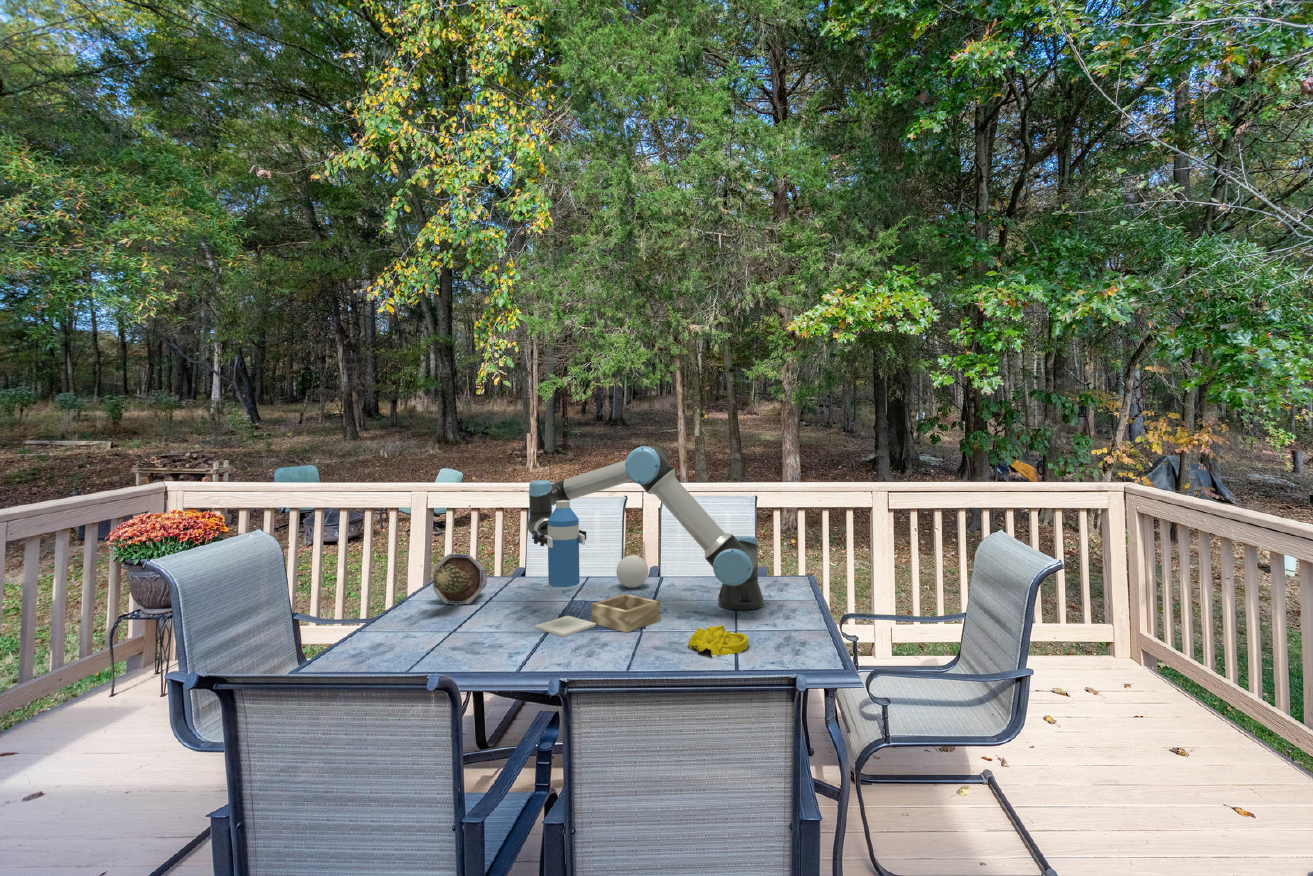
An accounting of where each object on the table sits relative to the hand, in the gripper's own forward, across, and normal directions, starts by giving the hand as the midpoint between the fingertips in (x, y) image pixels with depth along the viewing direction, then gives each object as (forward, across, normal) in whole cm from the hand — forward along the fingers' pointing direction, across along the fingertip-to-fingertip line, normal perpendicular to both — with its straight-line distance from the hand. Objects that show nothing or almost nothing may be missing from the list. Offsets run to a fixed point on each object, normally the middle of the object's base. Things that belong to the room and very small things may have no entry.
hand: (567, 541), depth 194 cm
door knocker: (+31, -33, -27) cm, 53 cm away
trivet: (-4, 0, -27) cm, 27 cm away
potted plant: (-45, +26, -27) cm, 59 cm away
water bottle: (-5, 0, -14) cm, 14 cm away
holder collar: (-1, -18, -27) cm, 32 cm away
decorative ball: (-40, -36, -27) cm, 60 cm away
